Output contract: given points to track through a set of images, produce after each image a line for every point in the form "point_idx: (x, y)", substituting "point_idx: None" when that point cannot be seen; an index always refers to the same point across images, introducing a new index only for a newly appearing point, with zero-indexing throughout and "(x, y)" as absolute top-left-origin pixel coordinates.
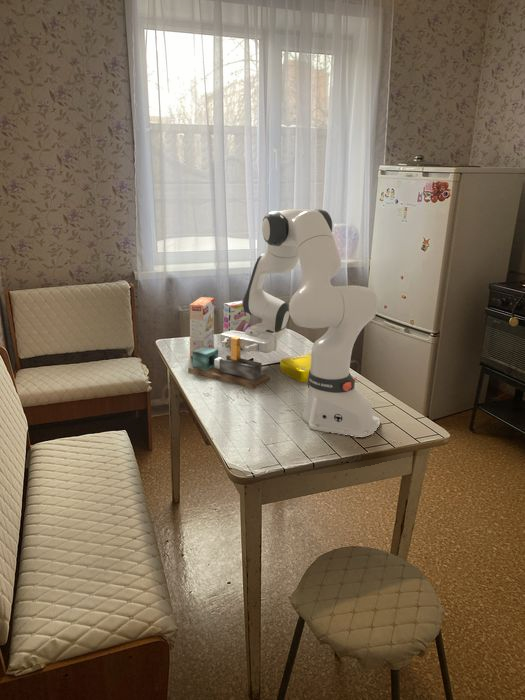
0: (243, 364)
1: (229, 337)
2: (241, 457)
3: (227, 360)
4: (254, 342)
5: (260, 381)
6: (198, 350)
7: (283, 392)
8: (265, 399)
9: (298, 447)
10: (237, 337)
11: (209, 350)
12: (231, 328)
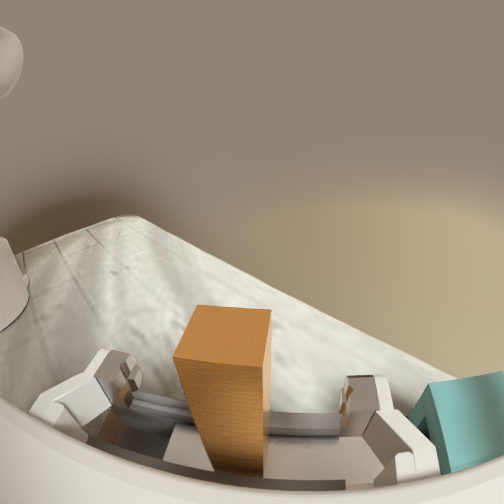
0: (163, 400)
1: (410, 483)
2: (128, 224)
3: (285, 419)
4: (49, 426)
5: (101, 428)
6: (499, 394)
7: (36, 398)
8: (87, 349)
9: (59, 250)
10: (210, 348)
11: (470, 436)
12: None
